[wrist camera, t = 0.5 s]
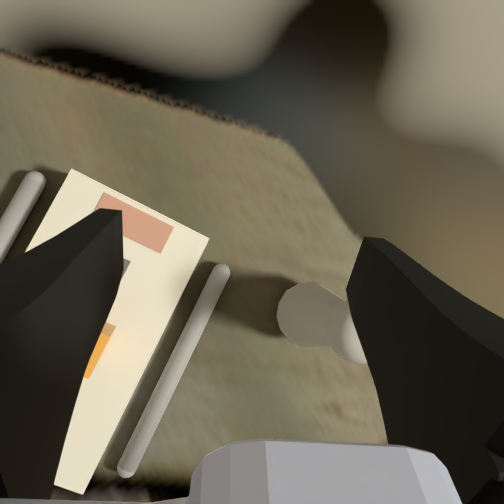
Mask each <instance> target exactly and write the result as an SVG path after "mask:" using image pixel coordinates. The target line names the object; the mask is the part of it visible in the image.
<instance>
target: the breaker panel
mask: <svg viewBox="0 0 504 504" xmlns="http://www.w3.org/2000/svg"><path fill="white" fill-rule="evenodd" d="M99 208H105V209H115V210H122V222H123V258H124V270H123V274H122V278H121V282H120V285H119V289H118V293H117V296H116V299H115V301H114V304H113V306H112V308H111V311H110V313H109V316H108V318H107V320H106V322H107V323H109V324H112V325H114V326H116V328H115V330H114V332H113V334H112V336H111V338H110V340H109V342H108V344H107V346H106V347H105V349H104V351H103V353H102V355H101V357H100V359H99V361H98V363H97V365H96V367H95V368H94V370H93V372H92V374H91V376H90V378H89V379H87V378H85V377H83V380H82V384H81V387H80V390H79V394H78V397H77V400H76V404H75V407H74V411H73V414H72V418H71V421H70V425H69V429H68V432H67V436H66V439H65V443H64V447H63V451H62V455H61V458H60V462H59V466H58V470H57V474H56V477H55V481H54V485H57V486H60V487H62V488H65V489H68V490H71V491H74V492H77V493H80V494H83V493H84V491H85V489H86V487H87V485H88V483H89V481H90V479H91V477H92V475H93V473H94V471H95V469H96V467H97V465H98V463H99V461H100V459H101V457H102V455H103V453H104V451H105V449H106V447H107V445H108V443H109V441H110V439H111V437H112V434H113V432H114V430H115V428H116V426H117V424H118V422H119V420H120V418H121V416H122V414H123V412H124V410H125V408H126V406H127V404H128V402H129V400H130V398H131V396H132V394H133V392H134V390H135V388H136V386H137V384H138V382H139V380H140V378H141V376H142V374H143V372H144V370H145V368H146V366H147V364H148V362H149V360H150V358H151V356H152V354H153V352H154V350H155V348H156V346H157V344H158V342H159V339H160V337H161V335H162V333H163V331H164V329H165V327H166V325H167V323H168V321H169V319H170V317H171V315H172V313H173V311H174V309H175V307H176V305H177V303H178V301H179V299H180V297H181V295H182V293H183V291H184V289H185V287H186V285H187V283H188V281H189V279H190V277H191V275H192V273H193V271H194V269H195V267H196V265H197V263H198V261H199V259H200V257H201V255H202V253H203V251H204V249H205V246H206V244H207V242H208V240H209V238H208V237H206V236H204V235H202V234H200V233H198V232H196V231H194V230H192V229H190V228H188V227H186V226H184V225H182V224H180V223H178V222H176V221H174V220H172V219H170V218H168V217H166V216H164V215H162V214H160V213H158V212H156V211H154V210H152V209H150V208H148V207H146V206H144V205H142V204H140V203H138V202H136V201H134V200H132V199H130V198H129V197H127V196H125V195H123V194H121V193H119V192H117V191H115V190H113V189H111V188H109V187H107V186H105V185H103V184H101V183H99V182H97V181H95V180H93V179H91V178H89V177H87V176H85V175H83V174H81V173H79V172H77V171H75V170H73V169H71V171H70V172H69V174H68V176H67V178H66V179H65V181H64V183H63V185H62V187H61V188H60V190H59V192H58V194H57V196H56V197H55V199H54V201H53V203H52V205H51V206H50V208H49V210H48V212H47V214H46V215H45V217H44V219H43V221H42V223H41V224H40V226H39V228H38V230H37V232H36V233H35V235H34V237H33V239H32V240H31V242H30V244H29V246H28V248H27V249H26V251H25V252H27V251H29V250H31V249H32V248H34V247H36V246H38V245H40V244H41V243H43V242H45V241H47V240H49V239H51V238H52V237H54V236H56V235H58V234H59V233H61V232H62V231H64V230H66V229H67V228H69V227H70V226H72V225H74V224H75V223H77V222H78V221H80V220H81V219H83V218H84V217H86V216H88V215H89V214H91V213H92V212H94V211H96V210H97V209H99Z"/></svg>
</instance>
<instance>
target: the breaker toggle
mask: <svg viewBox="0 0 504 504" xmlns="http://www.w3.org/2000/svg"><path fill="white" fill-rule="evenodd" d="M115 328H116V326H114V325H112V324H109V323H107V322H106V323H105V325H104V327H103V329H102V332H101V334H100V336H99V339H98V341H97V343H96V346H95V348H94V350H93V353H92V355H91V357H90V360H89V363H88V365H87V368H86V371H85V374H84V377H85V378H87V379H89V378H90V376H91V374H92V372H93V370H94V368H95V367H96V365H97V363H98V361H99V359H100V357H101V355H102V353H103V351H104V349H105V347H106V346H107V344H108V342H109V340H110V338H111V336H112V334H113V332H114V330H115Z"/></svg>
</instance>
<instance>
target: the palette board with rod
mask: <svg viewBox="0 0 504 504" xmlns="http://www.w3.org/2000/svg"><path fill="white" fill-rule="evenodd" d="M45 185H46V179H45V177H44V175H43V174H41V173H40V172H37V171H31V172H29V173H27V174H26V175H25V177H24V179H23V180H22V182H21V184H20V186H19V187H18V189H17V191H16V193H15V194H14V196H13V198H12V200H11V201H10V203H9V205H8V207H7V208H6V210H5V212H4V214H3V215H2V217H1V219H0V264H1V263H2V262H3V260H4V258H5V256H6V255H7V253H8V251H9V249H10V248H11V246H12V244H13V242H14V240H15V239H16V237H17V235H18V233H19V232H20V230H21V228H22V226H23V224H24V223H25V221H26V219H27V217H28V216H29V214H30V212H31V210H32V208H33V207H34V205H35V203H36V201H37V200H38V198H39V196H40V194H41V192H42V191H43V189H44V187H45ZM229 276H230V269H229V267H228V266H227V265H225V264H218V265H216V266H215V267H214V268H213V270H212V272H211V274H210V276H209V278H208V280H207V282H206V284H205V287H204V289H203V291H202V293H201V295H200V297H199V299H198V301H197V303H196V305H195V307H194V309H193V311H192V313H191V315H190V317H189V319H188V321H187V323H186V325H185V328H184V330H183V332H182V334H181V336H180V338H179V340H178V342H177V344H176V346H175V348H174V350H173V352H172V354H171V356H170V358H169V360H168V362H167V364H166V366H165V368H164V371H163V373H162V375H161V377H160V379H159V381H158V383H157V385H156V387H155V389H154V391H153V393H152V395H151V397H150V399H149V401H148V403H147V405H146V407H145V409H144V412H143V414H142V416H141V418H140V420H139V422H138V424H137V426H136V428H135V430H134V432H133V434H132V436H131V438H130V440H129V442H128V444H127V446H126V448H125V450H124V452H123V455H122V457H121V459H120V461H119V463H118V465H117V471H118V474H119V475H120V476H121V477H123V478H128V477H131V476H132V475H133V474H134V473H135V472H136V470H137V467H138V465H139V463H140V461H141V459H142V457H143V455H144V453H145V451H146V449H147V447H148V445H149V443H150V440H151V438H152V436H153V434H154V432H155V430H156V428H157V426H158V424H159V422H160V420H161V418H162V416H163V413H164V411H165V409H166V407H167V405H168V403H169V401H170V399H171V397H172V395H173V393H174V391H175V388H176V386H177V384H178V382H179V380H180V378H181V376H182V374H183V372H184V370H185V368H186V366H187V364H188V361H189V359H190V357H191V355H192V353H193V351H194V349H195V347H196V345H197V343H198V341H199V339H200V337H201V334H202V332H203V330H204V328H205V326H206V324H207V322H208V320H209V318H210V316H211V314H212V312H213V309H214V307H215V305H216V303H217V301H218V299H219V297H220V295H221V293H222V291H223V289H224V287H225V285H226V282H227V280H228V278H229Z"/></svg>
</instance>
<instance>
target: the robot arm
mask: <svg viewBox="0 0 504 504" xmlns="http://www.w3.org/2000/svg"><path fill="white" fill-rule="evenodd" d="M123 270H124V258H123V222H122V210H115V209H105V208H99V209H97V210H96V211H94V212H92V213H91V214H89V215H88V216H86V217H84V218H83V219H81V220H80V221H78V222H77V223H75V224H74V225H72V226H70V227H69V228H67V229H66V230H64V231H62V232H61V233H59V234H58V235H56V236H54V237H52V238H51V239H49V240H47V241H45V242H43V243H41V244H40V245H38V246H36V247H34V248H32V249H31V250H29V251H27V252H25V253H23V254H21V255H19V256H17V257H15V258H12V259H10V260H8V261H6V262H3V263H1V264H0V504H504V319H503V318H501V317H499V316H497V315H496V314H494V313H492V312H490V311H488V310H487V309H485V308H483V307H482V306H480V305H478V304H476V303H475V302H473V301H471V300H470V299H468V298H467V297H465V296H463V295H462V294H461V293H459V292H458V291H456V290H455V289H453V288H452V287H450V286H449V285H447V284H446V283H444V282H443V281H441V280H440V279H439V278H437V277H436V276H434V275H433V274H432V273H430V272H429V271H428V270H426V269H425V268H424V267H422V266H421V265H420V264H418V263H417V262H416V261H414V260H413V259H412V258H411V257H409V256H408V255H407V254H405V253H404V252H403V251H401V250H400V249H398V248H397V247H395V246H394V245H393V244H391V243H390V242H388V241H386V240H385V239H383V238H374V237H364V238H363V241H362V244H361V247H360V250H359V253H358V256H357V259H356V262H355V264H354V267H353V270H352V273H351V276H350V279H349V282H348V285H347V288H346V292H347V298H348V304H349V309H350V313H351V318H352V321H353V324H354V327H355V329H356V332H357V335H358V338H359V341H360V344H361V346H362V349H363V352H364V355H365V358H366V360H367V363H368V366H369V369H370V372H371V374H372V377H373V380H374V384H375V387H376V390H377V394H378V399H379V403H380V407H381V411H382V416H383V420H384V425H385V430H386V435H387V440H388V444H368V443H348V442H328V441H307V440H287V439H267V438H262V439H252V440H243V441H233V442H231V443H229V444H227V445H225V446H222V447H220V448H218V449H216V450H214V451H212V452H210V453H208V454H207V455H205V456H204V457H203V458H202V460H201V461H200V463H199V464H198V466H197V468H196V469H195V471H194V472H193V474H192V478H191V486H190V494H189V496H188V497H185V498H179V499H172V500H165V501H159V502H152V503H143V502H110V501H77V500H50V498H51V494H52V490H53V486H54V481H55V477H56V474H57V470H58V466H59V462H60V458H61V455H62V451H63V447H64V443H65V439H66V436H67V432H68V429H69V425H70V421H71V418H72V414H73V411H74V407H75V404H76V400H77V397H78V394H79V390H80V387H81V384H82V380H83V377H84V374H85V371H86V368H87V365H88V363H89V360H90V357H91V355H92V353H93V350H94V348H95V346H96V343H97V341H98V339H99V336H100V334H101V332H102V329H103V327H104V325H105V323H106V320H107V318H108V316H109V313H110V311H111V308H112V306H113V304H114V301H115V299H116V296H117V293H118V289H119V285H120V282H121V278H122V274H123Z"/></svg>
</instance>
